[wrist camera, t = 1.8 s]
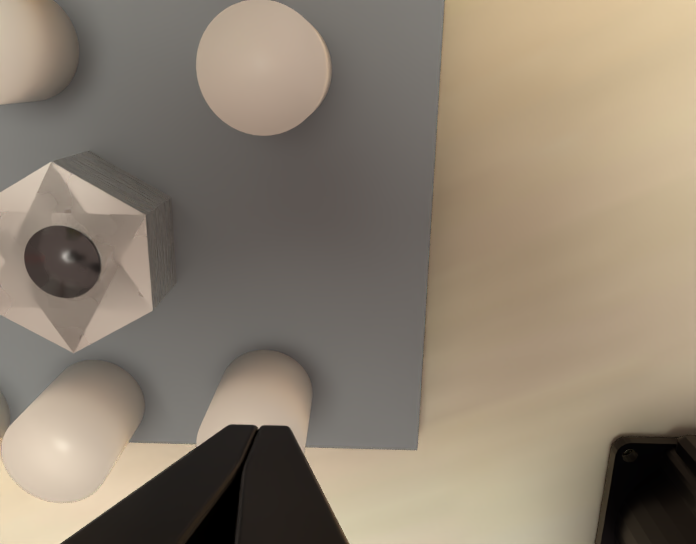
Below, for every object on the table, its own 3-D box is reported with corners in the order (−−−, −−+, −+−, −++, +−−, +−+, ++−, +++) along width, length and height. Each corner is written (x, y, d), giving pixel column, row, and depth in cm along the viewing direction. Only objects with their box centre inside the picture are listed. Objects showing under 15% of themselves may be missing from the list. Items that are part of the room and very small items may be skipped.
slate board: (415, 433, 22) (420, 471, 20) (-263, 415, 23) (-327, 451, 21) (440, -2, 18) (450, -11, 16) (-393, -19, 18) (-489, -30, 16)
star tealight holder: (168, 151, 19) (140, 163, 16) (179, 322, 20) (155, 356, 18) (10, 148, 19) (-41, 159, 16) (33, 319, 20) (-10, 352, 18)
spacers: (327, 460, 22) (321, 525, 19) (-73, 449, 22) (-144, 511, 19) (332, -8, 17) (327, -25, 14) (-167, -18, 17) (-279, -36, 14)
